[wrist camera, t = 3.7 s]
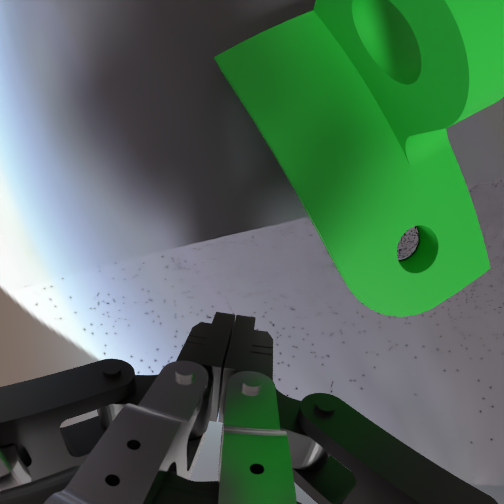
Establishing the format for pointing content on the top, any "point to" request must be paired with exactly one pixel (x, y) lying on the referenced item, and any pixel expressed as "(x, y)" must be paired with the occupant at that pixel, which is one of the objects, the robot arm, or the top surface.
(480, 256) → the mechanical part
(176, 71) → the top surface
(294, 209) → the top surface
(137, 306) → the top surface
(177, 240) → the top surface
